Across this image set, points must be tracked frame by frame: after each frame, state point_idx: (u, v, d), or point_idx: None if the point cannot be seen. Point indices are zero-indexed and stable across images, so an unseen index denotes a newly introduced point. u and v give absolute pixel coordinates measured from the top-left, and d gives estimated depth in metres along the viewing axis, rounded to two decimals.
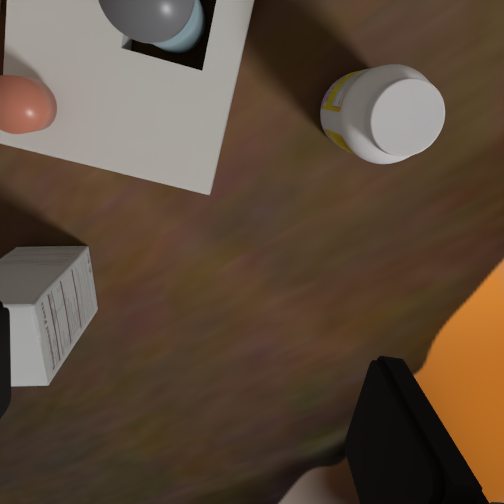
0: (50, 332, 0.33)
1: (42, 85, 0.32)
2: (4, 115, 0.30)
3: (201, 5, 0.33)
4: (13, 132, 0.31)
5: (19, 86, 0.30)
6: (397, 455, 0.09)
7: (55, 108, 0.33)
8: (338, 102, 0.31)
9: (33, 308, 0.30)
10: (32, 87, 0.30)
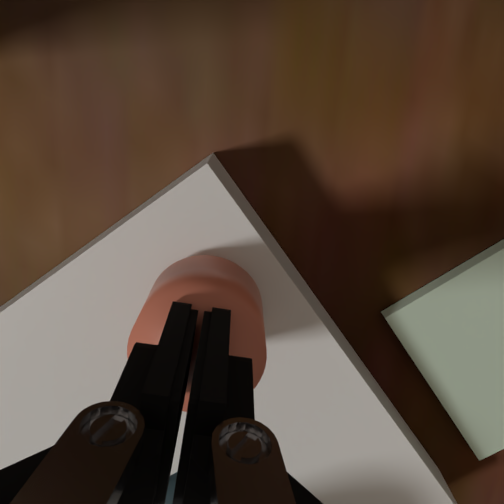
0: None
1: None
2: None
3: None
4: (148, 313, 0.12)
5: None
6: None
7: None
8: None
9: None
10: None
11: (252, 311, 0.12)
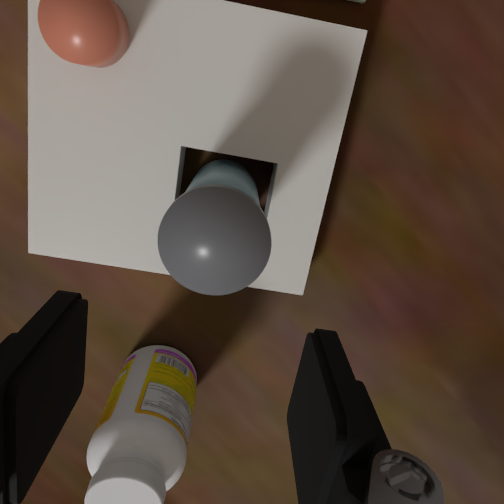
0: None
1: (119, 55, 0.25)
2: (60, 10, 0.22)
3: None
4: (40, 21, 0.22)
5: (103, 37, 0.22)
6: (317, 414, 0.09)
7: None
8: (147, 400, 0.29)
9: None
10: (106, 55, 0.23)
11: None
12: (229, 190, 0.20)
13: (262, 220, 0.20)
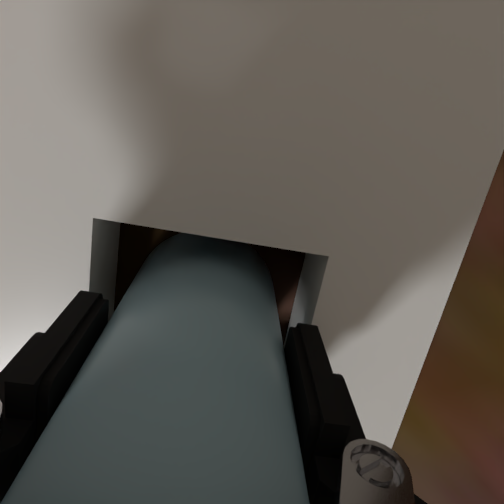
0: None
1: None
2: None
3: None
4: None
5: None
6: (295, 406, 0.09)
7: None
8: None
9: None
10: None
11: None
12: None
13: None
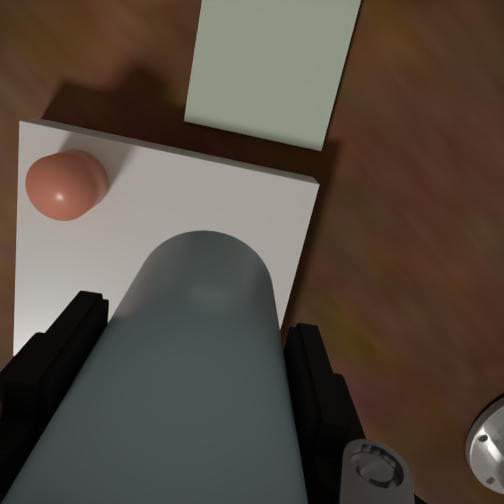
0: None
1: (98, 203, 0.28)
2: (45, 179, 0.25)
3: None
4: (27, 186, 0.25)
5: (82, 201, 0.26)
6: (295, 406, 0.09)
7: None
8: None
9: None
10: None
11: (62, 154, 0.25)
12: None
13: None
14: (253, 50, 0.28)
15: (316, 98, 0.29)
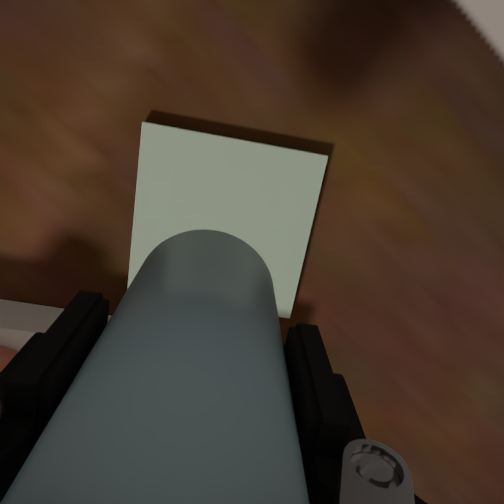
0: None
1: None
2: None
3: None
4: None
5: None
6: (295, 406, 0.09)
7: None
8: None
9: None
10: None
11: None
12: None
13: None
14: (203, 217, 0.24)
15: (280, 264, 0.25)
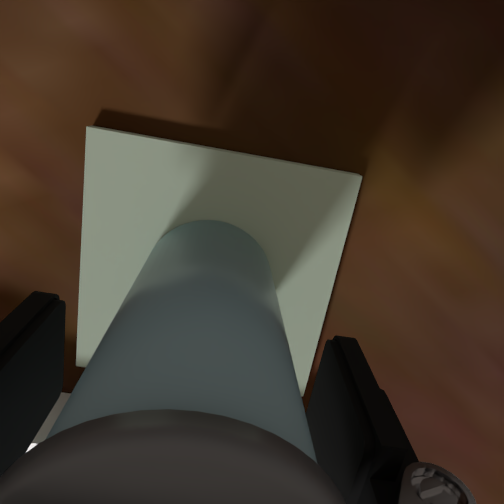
0: None
1: None
2: None
3: None
4: None
5: None
6: (340, 424, 0.09)
7: None
8: None
9: None
10: None
11: None
12: (217, 462, 0.05)
13: None
14: None
15: (291, 326, 0.18)
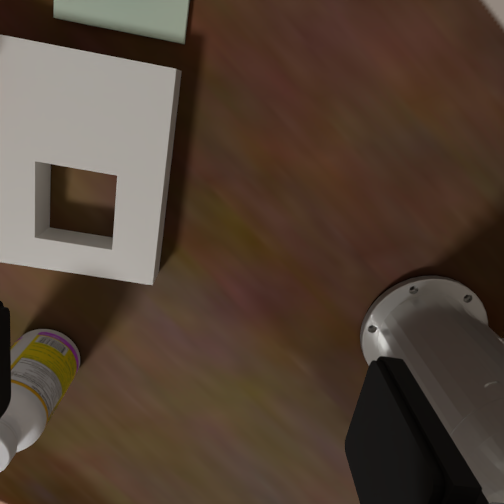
0: None
1: None
2: None
3: None
4: None
5: None
6: (397, 455, 0.09)
7: None
8: (13, 371, 0.35)
9: None
10: None
11: None
12: None
13: None
14: None
15: None
